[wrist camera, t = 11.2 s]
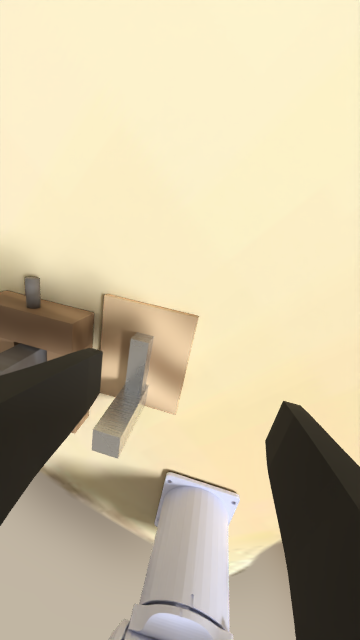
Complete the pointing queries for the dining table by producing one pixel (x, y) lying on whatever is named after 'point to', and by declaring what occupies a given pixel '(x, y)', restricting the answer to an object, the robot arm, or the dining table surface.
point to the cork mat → (166, 354)
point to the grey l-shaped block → (125, 400)
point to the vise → (40, 330)
